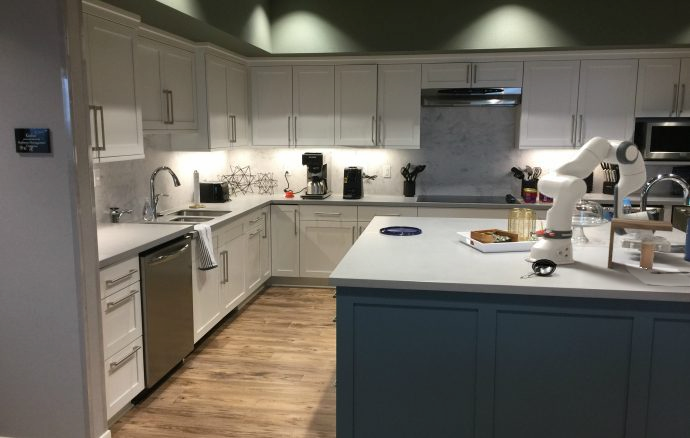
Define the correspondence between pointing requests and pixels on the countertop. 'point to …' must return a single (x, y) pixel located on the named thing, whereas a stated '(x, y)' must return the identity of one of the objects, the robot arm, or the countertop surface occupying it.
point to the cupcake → (538, 231)
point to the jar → (647, 254)
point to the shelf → (635, 225)
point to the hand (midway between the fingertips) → (646, 247)
